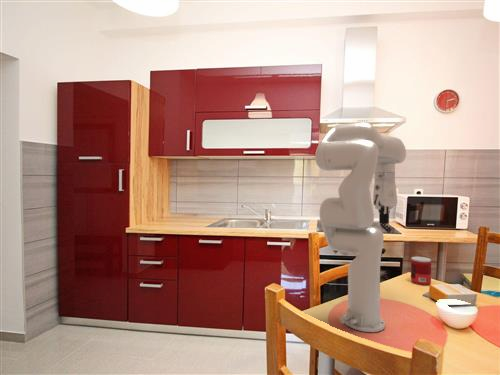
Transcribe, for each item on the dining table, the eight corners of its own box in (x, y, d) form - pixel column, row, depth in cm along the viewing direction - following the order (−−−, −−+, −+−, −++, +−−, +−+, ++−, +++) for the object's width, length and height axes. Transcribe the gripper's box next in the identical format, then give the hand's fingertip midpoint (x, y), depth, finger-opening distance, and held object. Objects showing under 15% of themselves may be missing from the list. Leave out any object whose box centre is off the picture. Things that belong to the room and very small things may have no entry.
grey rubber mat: (444, 302, 112) (444, 301, 112) (422, 295, 119) (422, 294, 119) (457, 295, 119) (457, 294, 119) (436, 289, 126) (436, 288, 126)
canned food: (434, 284, 133) (435, 259, 132) (422, 286, 130) (422, 261, 129) (419, 279, 140) (419, 255, 139) (407, 281, 137) (407, 257, 137)
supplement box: (443, 307, 108) (476, 306, 110) (445, 294, 107) (478, 293, 109) (427, 296, 116) (458, 295, 118) (429, 284, 116) (459, 283, 117)
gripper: (382, 177, 112) (382, 226, 112) (403, 178, 120) (403, 223, 121) (365, 177, 118) (364, 223, 118) (386, 178, 127) (385, 221, 127)
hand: (384, 223), depth 119 cm, fingers closed
